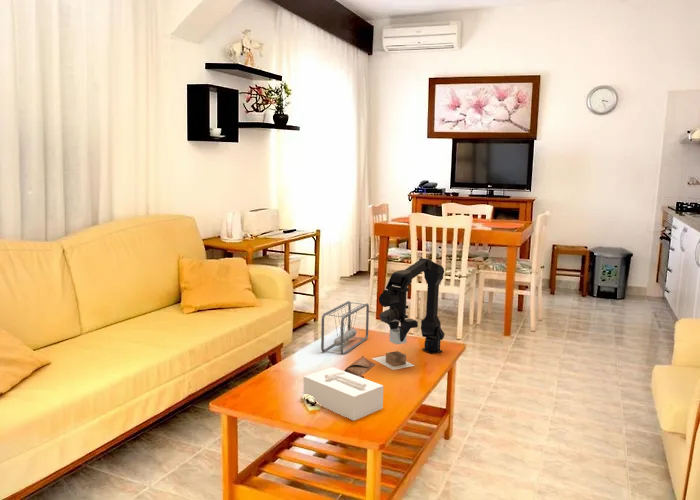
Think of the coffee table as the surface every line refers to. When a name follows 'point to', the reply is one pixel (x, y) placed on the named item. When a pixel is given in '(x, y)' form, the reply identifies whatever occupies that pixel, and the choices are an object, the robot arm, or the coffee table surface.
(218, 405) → the coffee table surface
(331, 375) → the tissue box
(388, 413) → the coffee table surface
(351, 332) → the newton's cradle
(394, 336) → the top block
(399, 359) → the base block
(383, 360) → the plate
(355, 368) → the sunglasses case
